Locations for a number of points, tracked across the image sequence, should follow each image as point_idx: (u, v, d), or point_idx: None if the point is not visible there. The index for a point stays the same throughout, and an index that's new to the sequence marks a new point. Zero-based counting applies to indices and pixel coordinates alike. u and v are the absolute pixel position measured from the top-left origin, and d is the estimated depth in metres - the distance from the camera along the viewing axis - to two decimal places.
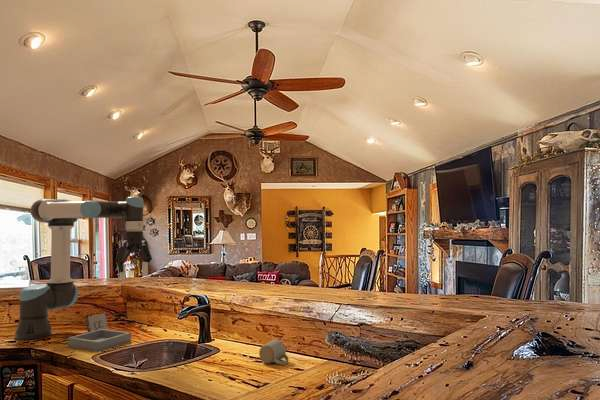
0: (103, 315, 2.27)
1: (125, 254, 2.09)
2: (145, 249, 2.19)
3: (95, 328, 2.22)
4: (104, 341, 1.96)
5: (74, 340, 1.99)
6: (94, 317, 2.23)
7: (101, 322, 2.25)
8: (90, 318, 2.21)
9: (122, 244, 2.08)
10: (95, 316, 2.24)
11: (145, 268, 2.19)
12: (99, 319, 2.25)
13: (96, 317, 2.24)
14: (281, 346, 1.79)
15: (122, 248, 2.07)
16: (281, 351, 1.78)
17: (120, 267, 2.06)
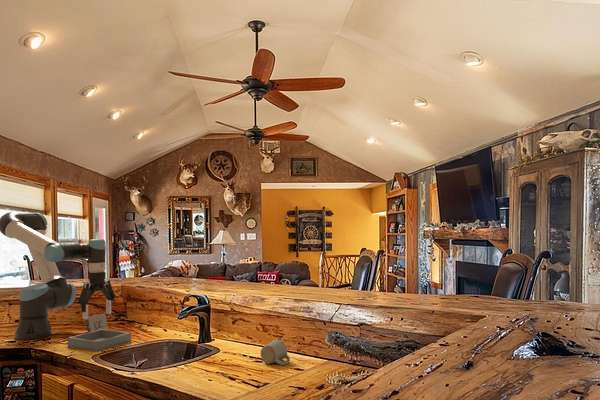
0: (103, 315, 2.27)
1: (88, 295, 2.20)
2: (108, 288, 2.31)
3: (95, 328, 2.22)
4: (104, 341, 1.96)
5: (74, 340, 1.99)
6: (94, 317, 2.23)
7: (101, 322, 2.25)
8: (90, 318, 2.21)
9: (85, 285, 2.19)
10: (95, 316, 2.24)
11: (109, 306, 2.30)
12: (99, 319, 2.25)
13: (96, 317, 2.24)
14: (283, 346, 1.78)
15: (84, 289, 2.18)
16: (282, 351, 1.77)
17: (83, 307, 2.17)
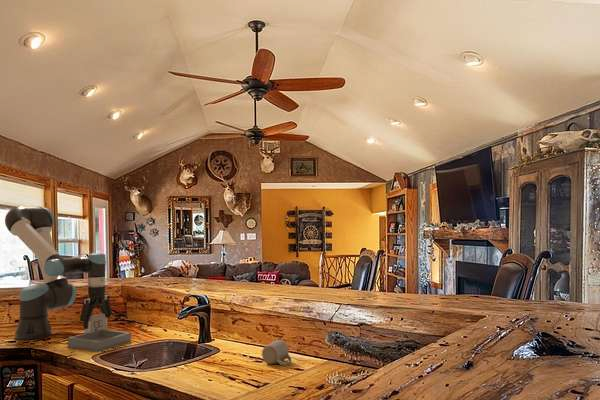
0: (103, 315, 2.27)
1: (89, 311, 2.21)
2: (106, 304, 2.30)
3: (94, 328, 2.22)
4: (104, 341, 1.96)
5: (74, 340, 1.99)
6: (94, 317, 2.23)
7: (101, 322, 2.25)
8: (90, 318, 2.21)
9: (84, 302, 2.19)
10: (95, 316, 2.24)
11: None
12: (99, 319, 2.25)
13: (96, 317, 2.24)
14: (284, 347, 1.78)
15: (85, 306, 2.19)
16: (284, 352, 1.77)
17: (85, 324, 2.19)
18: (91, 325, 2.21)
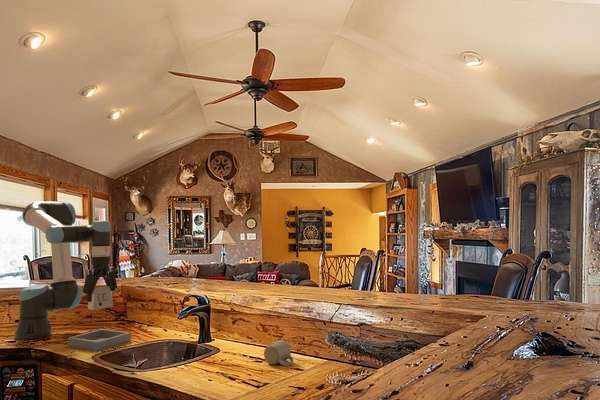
0: (107, 288, 2.09)
1: (92, 282, 2.02)
2: (111, 276, 2.12)
3: (99, 301, 2.03)
4: (104, 341, 1.96)
5: (74, 340, 1.99)
6: (98, 289, 2.05)
7: (105, 295, 2.06)
8: None
9: (87, 272, 2.00)
10: (99, 288, 2.05)
11: None
12: (103, 292, 2.06)
13: (100, 289, 2.05)
14: (286, 347, 1.77)
15: (88, 277, 2.00)
16: (286, 352, 1.76)
17: (88, 297, 2.00)
18: (95, 298, 2.02)
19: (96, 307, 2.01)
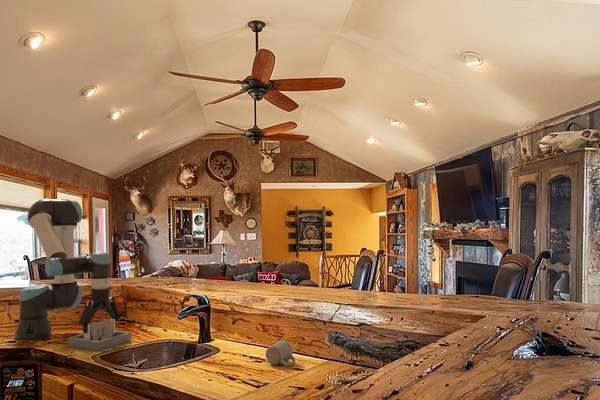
0: (107, 322, 2.08)
1: (90, 314, 2.01)
2: (112, 305, 2.12)
3: (98, 336, 2.03)
4: (104, 341, 1.96)
5: (74, 340, 1.99)
6: (97, 324, 2.04)
7: (105, 329, 2.06)
8: (93, 325, 2.02)
9: (87, 303, 2.00)
10: (98, 323, 2.05)
11: (112, 325, 2.11)
12: (103, 326, 2.06)
13: (99, 324, 2.05)
14: (288, 347, 1.77)
15: (87, 308, 1.99)
16: (288, 352, 1.76)
17: (84, 328, 1.98)
18: (94, 333, 2.02)
19: None
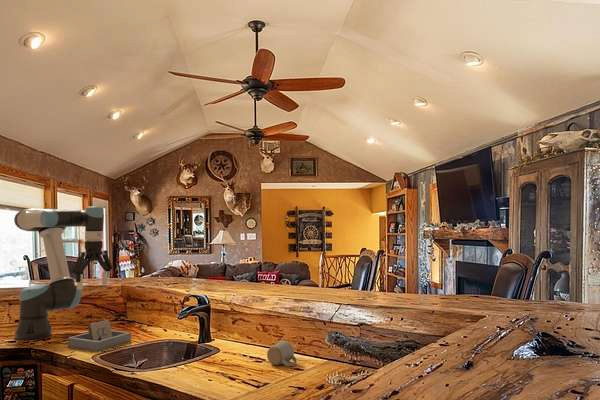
0: (107, 322, 2.08)
1: (83, 264, 2.09)
2: (105, 258, 2.20)
3: (98, 336, 2.03)
4: (104, 341, 1.96)
5: (74, 340, 1.99)
6: (97, 324, 2.04)
7: (105, 329, 2.06)
8: (93, 325, 2.02)
9: (80, 254, 2.08)
10: (98, 323, 2.05)
11: (105, 277, 2.19)
12: (103, 326, 2.06)
13: (99, 324, 2.05)
14: (289, 348, 1.77)
15: (80, 258, 2.07)
16: (289, 353, 1.76)
17: (77, 277, 2.06)
18: (94, 333, 2.02)
19: None
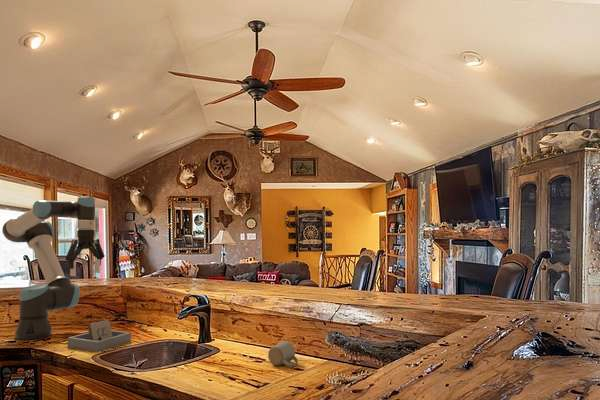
0: (107, 322, 2.08)
1: (76, 251, 2.17)
2: (97, 247, 2.28)
3: (98, 336, 2.03)
4: (104, 341, 1.96)
5: (74, 340, 1.99)
6: (97, 324, 2.04)
7: (105, 329, 2.06)
8: (93, 325, 2.02)
9: (73, 242, 2.16)
10: (98, 323, 2.05)
11: (97, 265, 2.27)
12: (103, 326, 2.06)
13: (99, 324, 2.05)
14: (290, 348, 1.76)
15: (72, 246, 2.16)
16: (290, 353, 1.75)
17: (70, 264, 2.14)
18: (94, 333, 2.02)
19: None
